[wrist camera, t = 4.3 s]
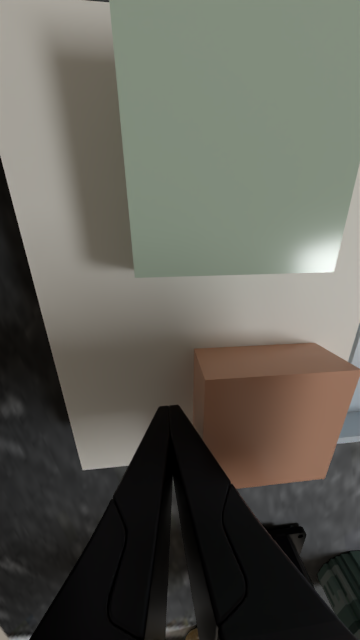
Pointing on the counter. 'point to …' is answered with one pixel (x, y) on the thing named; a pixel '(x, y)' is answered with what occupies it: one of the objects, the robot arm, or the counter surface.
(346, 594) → the can
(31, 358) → the counter surface
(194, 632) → the sprinkles bottle
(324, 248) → the tile sage
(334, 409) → the tile terracotta
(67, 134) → the board
